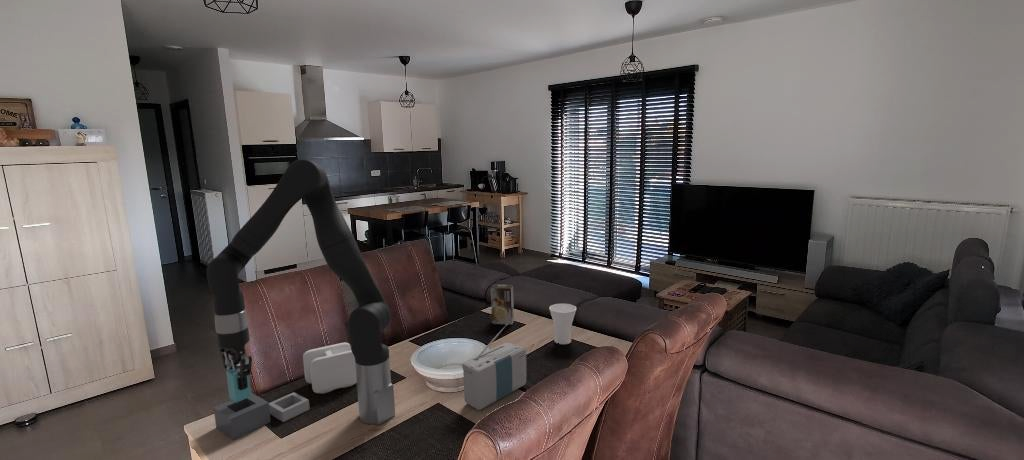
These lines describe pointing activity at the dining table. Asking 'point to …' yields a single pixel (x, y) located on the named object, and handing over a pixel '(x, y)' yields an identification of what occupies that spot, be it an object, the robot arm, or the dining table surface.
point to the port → (242, 416)
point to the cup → (562, 321)
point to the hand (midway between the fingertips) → (239, 386)
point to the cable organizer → (330, 367)
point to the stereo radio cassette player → (494, 374)
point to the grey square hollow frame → (290, 412)
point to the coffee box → (502, 304)
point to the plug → (233, 387)
